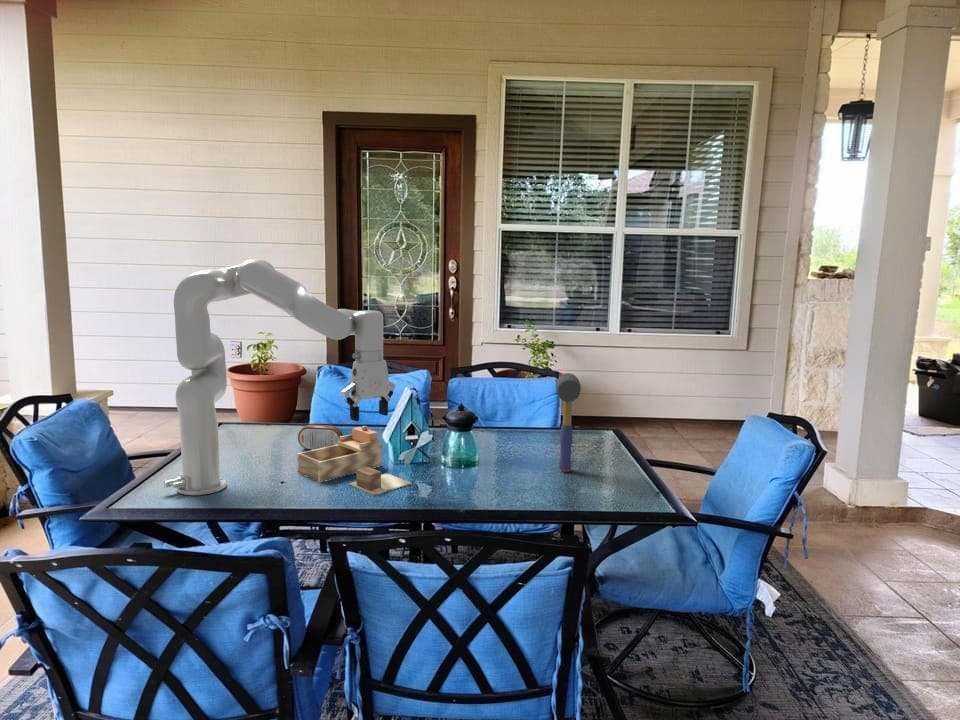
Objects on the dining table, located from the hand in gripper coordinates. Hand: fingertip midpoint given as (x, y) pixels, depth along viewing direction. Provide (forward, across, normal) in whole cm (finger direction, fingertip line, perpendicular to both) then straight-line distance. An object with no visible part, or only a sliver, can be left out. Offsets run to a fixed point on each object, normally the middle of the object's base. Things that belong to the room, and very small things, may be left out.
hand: (369, 417), depth 181 cm
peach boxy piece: (+13, +12, +19) cm, 26 cm away
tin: (+21, +10, +41) cm, 47 cm away
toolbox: (+20, +3, +19) cm, 28 cm away
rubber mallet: (+20, +53, -28) cm, 63 cm away
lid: (+21, +4, 0) cm, 21 cm away
